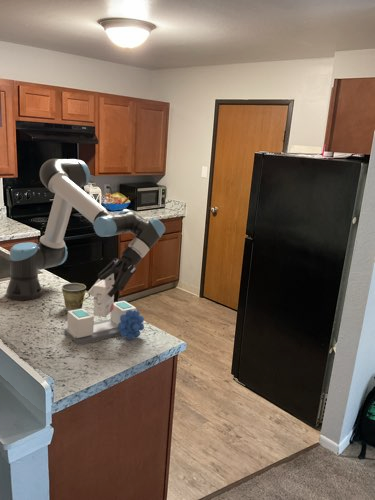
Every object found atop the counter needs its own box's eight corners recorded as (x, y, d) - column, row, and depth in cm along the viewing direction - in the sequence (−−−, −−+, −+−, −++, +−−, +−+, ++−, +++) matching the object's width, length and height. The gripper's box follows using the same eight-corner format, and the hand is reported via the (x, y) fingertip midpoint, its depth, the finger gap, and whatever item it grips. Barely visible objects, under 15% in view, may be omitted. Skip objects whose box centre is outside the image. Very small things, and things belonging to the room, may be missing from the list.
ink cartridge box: (101, 307, 164) (102, 271, 160) (113, 309, 163) (115, 272, 159) (92, 315, 155) (93, 277, 152) (105, 317, 155) (106, 279, 151)
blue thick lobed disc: (124, 347, 150) (125, 316, 147) (113, 340, 154) (114, 310, 151) (150, 339, 157) (152, 309, 155) (139, 333, 162) (140, 304, 159)
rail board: (64, 332, 158) (64, 309, 156) (122, 319, 173) (123, 298, 171) (78, 345, 149) (78, 321, 147) (138, 330, 164) (139, 308, 162)
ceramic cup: (56, 310, 178) (56, 287, 176) (71, 302, 187) (71, 281, 185) (82, 316, 174) (82, 293, 171) (96, 308, 183) (96, 287, 180)
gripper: (156, 265, 156) (116, 313, 150) (126, 252, 172) (89, 295, 166) (144, 252, 152) (103, 301, 145) (115, 240, 168) (77, 284, 161)
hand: (96, 298), depth 156 cm, fingers closed on ink cartridge box, 9 cm apart
